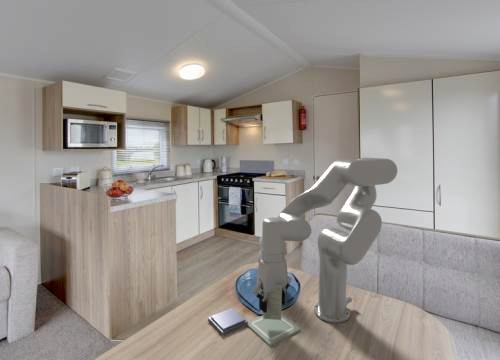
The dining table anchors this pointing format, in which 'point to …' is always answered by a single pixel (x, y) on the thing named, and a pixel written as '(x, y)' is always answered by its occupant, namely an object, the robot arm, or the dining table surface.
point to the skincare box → (274, 304)
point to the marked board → (272, 329)
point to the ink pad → (227, 321)
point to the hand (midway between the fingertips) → (272, 306)
